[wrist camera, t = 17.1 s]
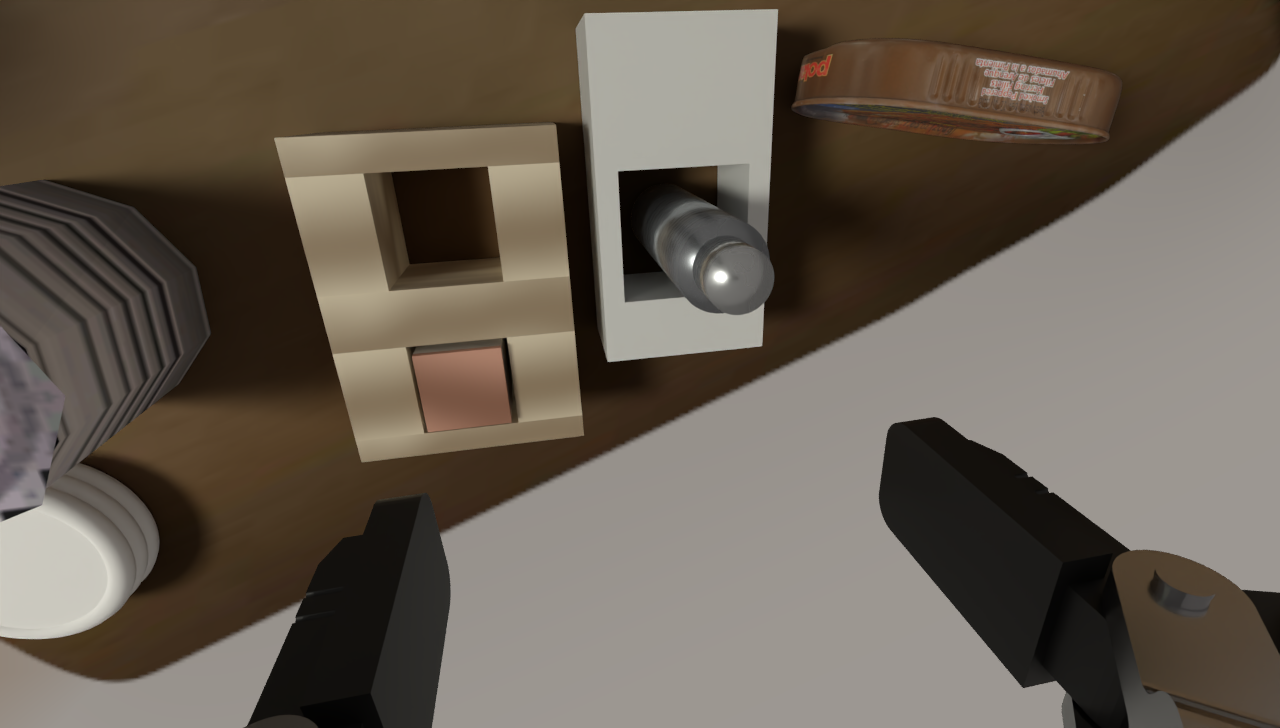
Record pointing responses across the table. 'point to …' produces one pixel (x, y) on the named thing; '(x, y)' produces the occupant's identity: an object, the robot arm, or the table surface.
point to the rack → (673, 155)
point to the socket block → (437, 279)
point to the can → (83, 329)
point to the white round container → (74, 556)
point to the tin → (957, 92)
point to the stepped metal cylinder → (704, 250)
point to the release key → (464, 383)
